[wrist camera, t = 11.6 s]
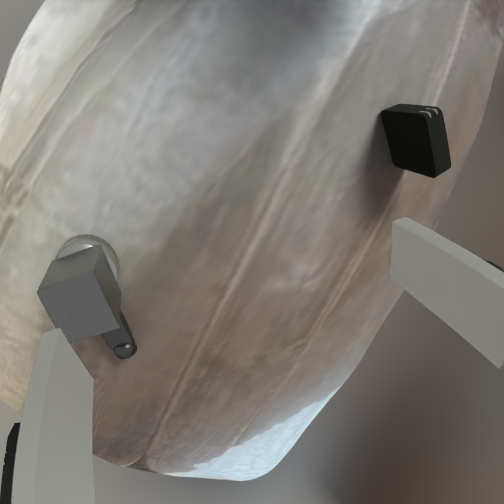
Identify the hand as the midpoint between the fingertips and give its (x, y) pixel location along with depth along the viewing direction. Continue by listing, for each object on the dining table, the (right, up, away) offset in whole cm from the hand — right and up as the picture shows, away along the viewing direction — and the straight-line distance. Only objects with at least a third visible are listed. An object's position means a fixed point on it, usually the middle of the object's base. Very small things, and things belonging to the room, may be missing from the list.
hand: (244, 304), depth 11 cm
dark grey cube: (-20, -1, +25) cm, 33 cm away
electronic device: (+24, +21, +36) cm, 48 cm away
